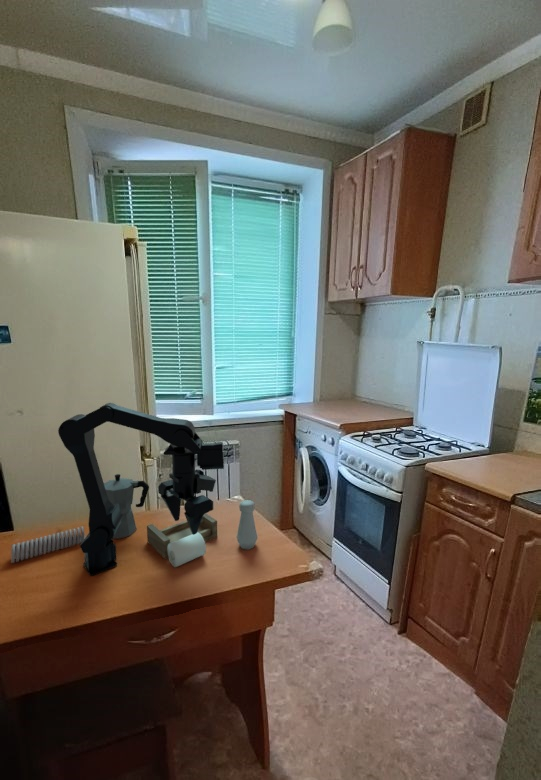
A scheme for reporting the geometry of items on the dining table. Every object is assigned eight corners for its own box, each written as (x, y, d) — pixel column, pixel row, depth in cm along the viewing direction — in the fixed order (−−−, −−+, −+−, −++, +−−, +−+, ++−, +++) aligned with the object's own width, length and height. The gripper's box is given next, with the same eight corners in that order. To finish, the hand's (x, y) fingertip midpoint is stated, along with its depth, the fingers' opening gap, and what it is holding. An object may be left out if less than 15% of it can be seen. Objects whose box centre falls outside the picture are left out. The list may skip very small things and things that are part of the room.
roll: (178, 571, 92) (177, 549, 91) (167, 560, 96) (166, 539, 95) (206, 558, 97) (206, 537, 96) (194, 548, 102) (194, 528, 101)
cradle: (164, 559, 97) (164, 541, 96) (147, 541, 105) (146, 525, 104) (217, 536, 108) (217, 520, 107) (198, 522, 116) (197, 507, 115)
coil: (9, 551, 93) (87, 530, 103) (9, 541, 97) (84, 522, 107) (11, 567, 94) (88, 545, 104) (10, 556, 98) (85, 536, 108)
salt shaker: (232, 547, 102) (232, 503, 100) (243, 537, 107) (243, 496, 105) (250, 553, 99) (250, 508, 98) (261, 543, 104) (261, 500, 103)
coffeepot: (92, 541, 105) (88, 481, 103) (102, 524, 114) (98, 469, 112) (148, 537, 107) (145, 478, 105) (153, 521, 117) (150, 467, 114)
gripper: (231, 472, 92) (231, 530, 94) (193, 454, 105) (194, 505, 108) (191, 483, 84) (193, 546, 87) (156, 463, 98) (158, 517, 100)
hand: (185, 527), depth 95 cm, fingers open, 9 cm apart
